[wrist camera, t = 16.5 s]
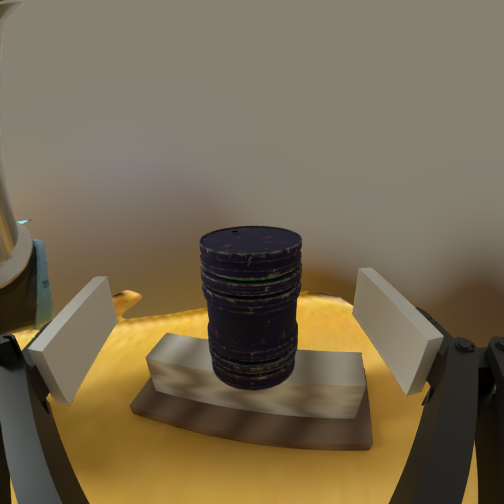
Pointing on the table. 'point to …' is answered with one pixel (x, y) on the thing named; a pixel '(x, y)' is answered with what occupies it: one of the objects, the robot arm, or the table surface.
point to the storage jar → (252, 303)
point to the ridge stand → (260, 399)
